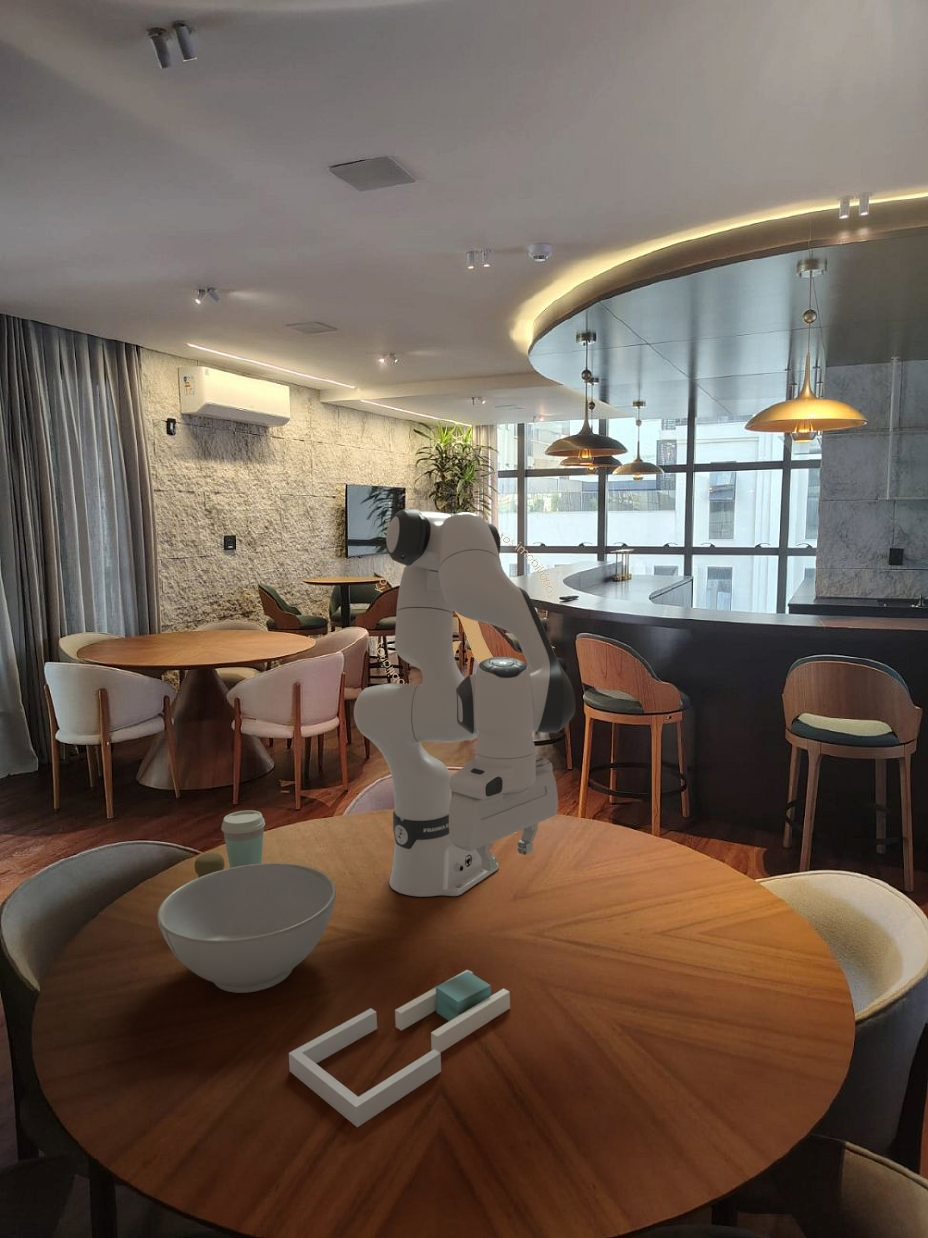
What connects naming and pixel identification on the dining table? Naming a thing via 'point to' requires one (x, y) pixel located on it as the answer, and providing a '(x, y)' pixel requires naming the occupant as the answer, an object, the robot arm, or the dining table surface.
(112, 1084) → the dining table surface
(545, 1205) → the dining table surface
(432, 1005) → the chute
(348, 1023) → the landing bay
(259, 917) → the decorative bowl
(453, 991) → the teal block
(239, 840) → the coffee cup
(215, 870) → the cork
